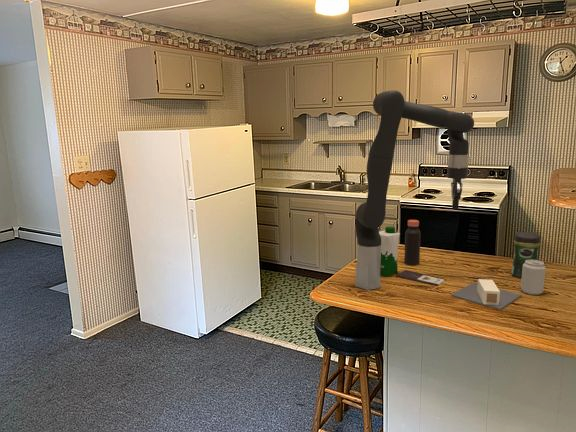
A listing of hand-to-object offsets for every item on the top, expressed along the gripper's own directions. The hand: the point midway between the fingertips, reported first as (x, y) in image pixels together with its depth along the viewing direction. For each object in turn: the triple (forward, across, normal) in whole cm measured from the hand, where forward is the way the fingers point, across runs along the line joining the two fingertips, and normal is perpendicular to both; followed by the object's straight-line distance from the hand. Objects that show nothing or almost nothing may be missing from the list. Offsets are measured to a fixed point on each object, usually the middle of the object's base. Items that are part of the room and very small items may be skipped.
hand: (455, 209), depth 177 cm
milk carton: (+29, 0, -26) cm, 39 cm away
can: (+29, +12, +27) cm, 42 cm away
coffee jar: (+29, -7, +30) cm, 42 cm away
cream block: (+26, +17, +10) cm, 32 cm away
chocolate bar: (+30, +3, -12) cm, 32 cm away
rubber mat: (+29, +19, +10) cm, 36 cm away
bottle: (+29, -17, -15) cm, 37 cm away
